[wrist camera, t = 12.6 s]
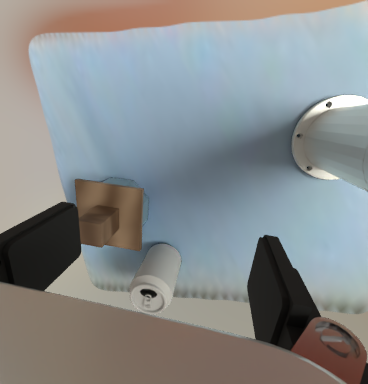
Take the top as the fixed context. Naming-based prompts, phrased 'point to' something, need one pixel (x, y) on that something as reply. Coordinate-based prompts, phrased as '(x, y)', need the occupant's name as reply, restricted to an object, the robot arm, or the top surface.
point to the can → (155, 279)
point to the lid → (109, 214)
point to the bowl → (131, 184)
